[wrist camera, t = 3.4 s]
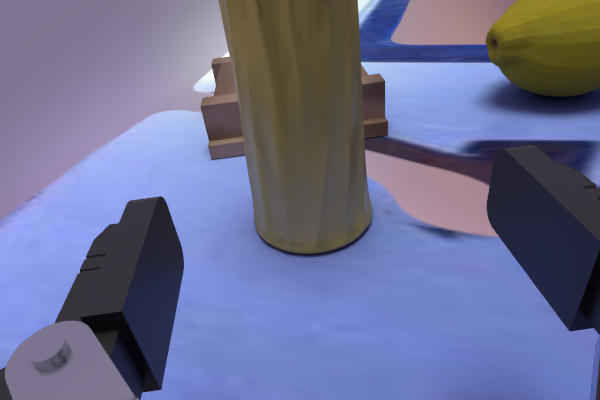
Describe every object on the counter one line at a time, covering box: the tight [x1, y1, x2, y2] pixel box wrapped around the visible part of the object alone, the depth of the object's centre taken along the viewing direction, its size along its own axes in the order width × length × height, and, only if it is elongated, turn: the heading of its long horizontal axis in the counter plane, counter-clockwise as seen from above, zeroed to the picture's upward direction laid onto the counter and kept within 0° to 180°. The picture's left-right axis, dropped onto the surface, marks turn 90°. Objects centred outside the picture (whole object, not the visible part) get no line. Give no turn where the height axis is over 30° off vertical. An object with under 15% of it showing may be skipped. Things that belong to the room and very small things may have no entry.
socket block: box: [201, 57, 388, 159], centre depth 34 cm, size 12×12×4 cm
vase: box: [219, 0, 372, 254], centre depth 19 cm, size 6×6×14 cm
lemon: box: [486, 0, 600, 97], centre depth 30 cm, size 11×8×8 cm
